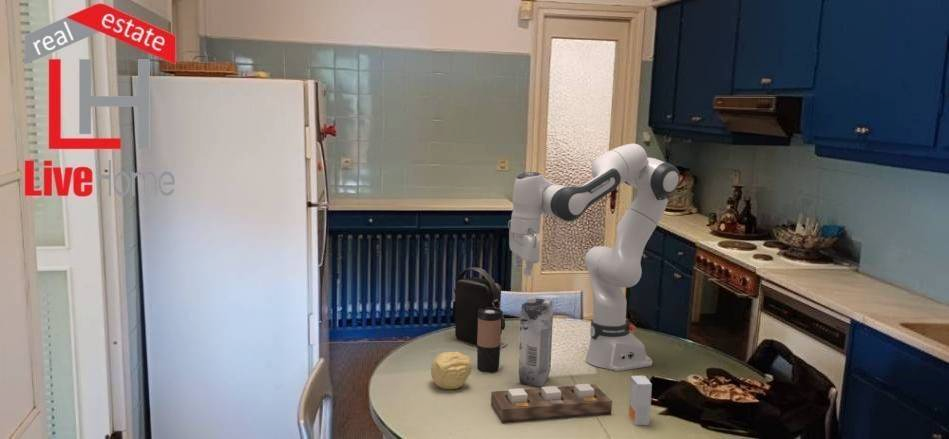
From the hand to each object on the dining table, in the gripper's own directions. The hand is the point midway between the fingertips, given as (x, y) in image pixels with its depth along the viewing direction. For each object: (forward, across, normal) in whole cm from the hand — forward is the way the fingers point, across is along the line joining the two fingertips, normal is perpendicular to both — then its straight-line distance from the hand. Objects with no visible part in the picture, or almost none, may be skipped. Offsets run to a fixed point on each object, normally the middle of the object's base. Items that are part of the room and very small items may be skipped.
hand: (522, 271), depth 206 cm
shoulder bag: (+36, +41, +4) cm, 55 cm away
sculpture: (+37, +3, +20) cm, 42 cm away
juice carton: (+36, +2, -7) cm, 37 cm away
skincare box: (+36, -29, -27) cm, 54 cm away
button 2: (+33, -18, -15) cm, 40 cm away
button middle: (+33, -19, -5) cm, 38 cm away
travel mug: (+36, +14, +5) cm, 40 cm away
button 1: (+33, -19, +5) cm, 38 cm away
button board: (+36, -18, -5) cm, 41 cm away
